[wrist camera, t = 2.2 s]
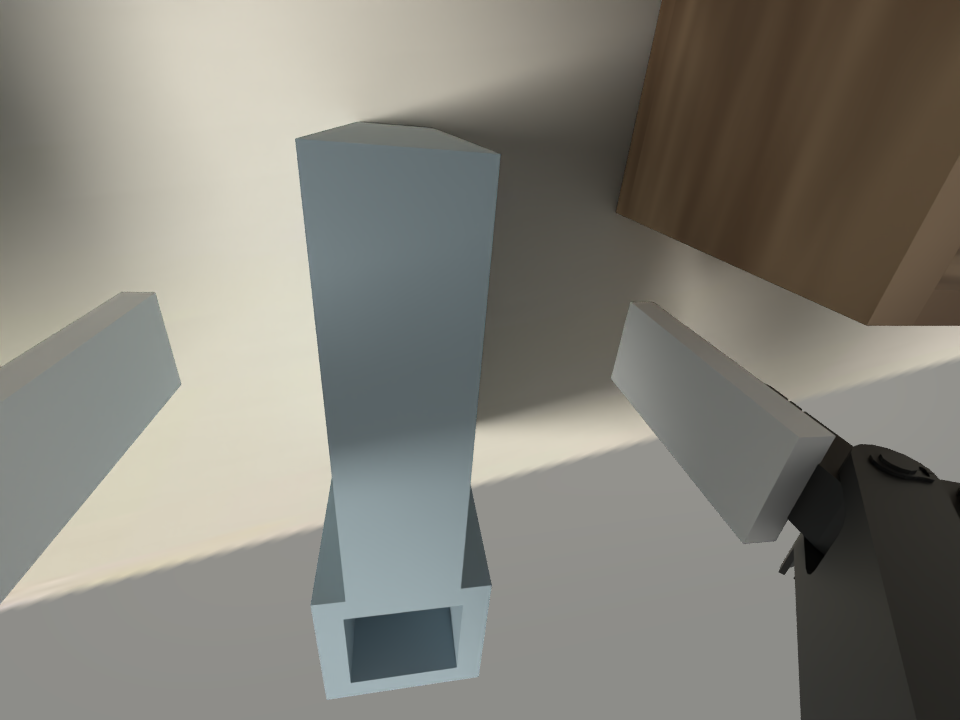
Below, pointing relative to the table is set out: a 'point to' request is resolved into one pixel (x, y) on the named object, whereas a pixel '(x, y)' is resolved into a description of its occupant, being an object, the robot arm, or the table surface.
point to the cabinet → (809, 148)
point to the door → (399, 399)
